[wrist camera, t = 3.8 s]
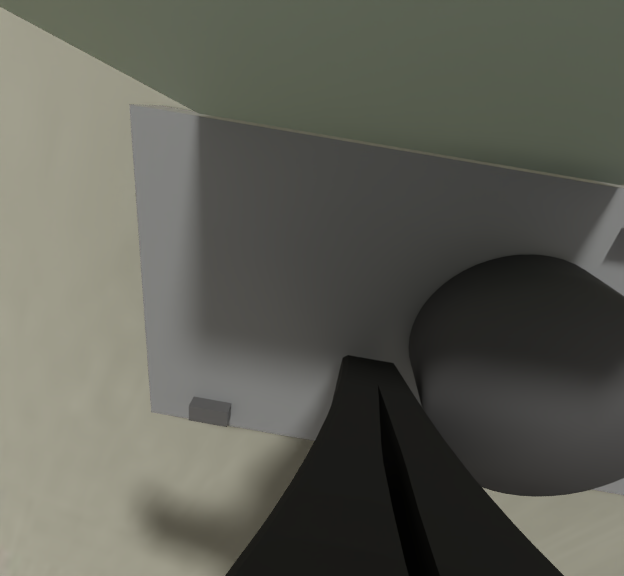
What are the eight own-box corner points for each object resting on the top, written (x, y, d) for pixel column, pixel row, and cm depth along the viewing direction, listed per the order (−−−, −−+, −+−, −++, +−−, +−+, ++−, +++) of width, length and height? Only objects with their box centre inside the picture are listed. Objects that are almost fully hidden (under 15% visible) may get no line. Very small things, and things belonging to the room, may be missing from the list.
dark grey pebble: (556, 427, 10) (612, 513, 8) (388, 396, 10) (399, 474, 8) (656, 274, 8) (773, 336, 6) (442, 237, 8) (478, 285, 6)
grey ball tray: (731, 478, 13) (791, 534, 11) (171, 381, 13) (145, 421, 11) (977, 244, 9) (1130, 275, 7) (161, 105, 9) (118, 103, 7)
